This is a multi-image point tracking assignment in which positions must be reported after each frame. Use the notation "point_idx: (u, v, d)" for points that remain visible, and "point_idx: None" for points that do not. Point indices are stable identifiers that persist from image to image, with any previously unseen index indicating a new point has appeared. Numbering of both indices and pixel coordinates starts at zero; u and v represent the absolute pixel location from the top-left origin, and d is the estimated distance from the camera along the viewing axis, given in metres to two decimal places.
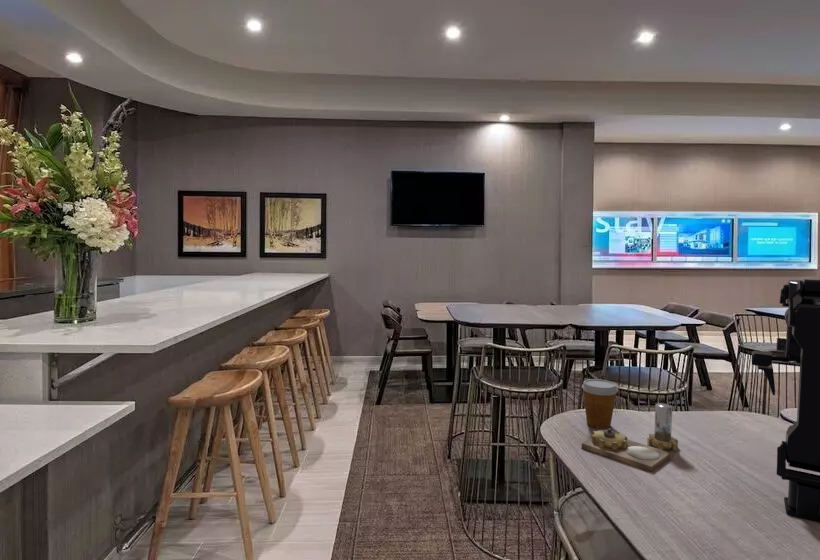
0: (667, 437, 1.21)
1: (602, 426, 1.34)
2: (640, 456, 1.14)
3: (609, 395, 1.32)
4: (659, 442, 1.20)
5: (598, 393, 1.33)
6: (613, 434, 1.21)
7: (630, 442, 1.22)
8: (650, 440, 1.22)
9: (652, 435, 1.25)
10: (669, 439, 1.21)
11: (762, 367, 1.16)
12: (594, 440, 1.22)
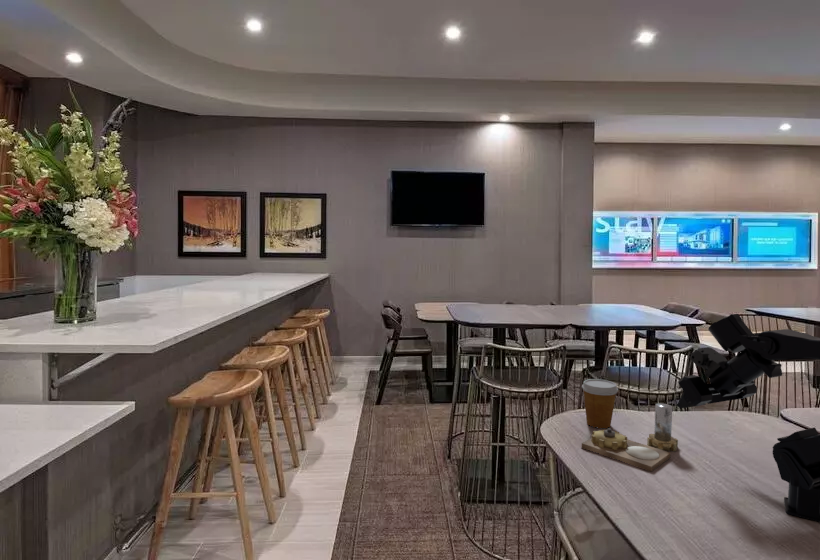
0: (667, 437, 1.21)
1: (602, 426, 1.34)
2: (640, 456, 1.14)
3: (609, 395, 1.32)
4: (659, 442, 1.20)
5: (598, 393, 1.33)
6: (613, 434, 1.21)
7: (630, 442, 1.22)
8: (650, 440, 1.22)
9: (652, 435, 1.25)
10: (669, 439, 1.21)
11: None
12: (594, 440, 1.22)
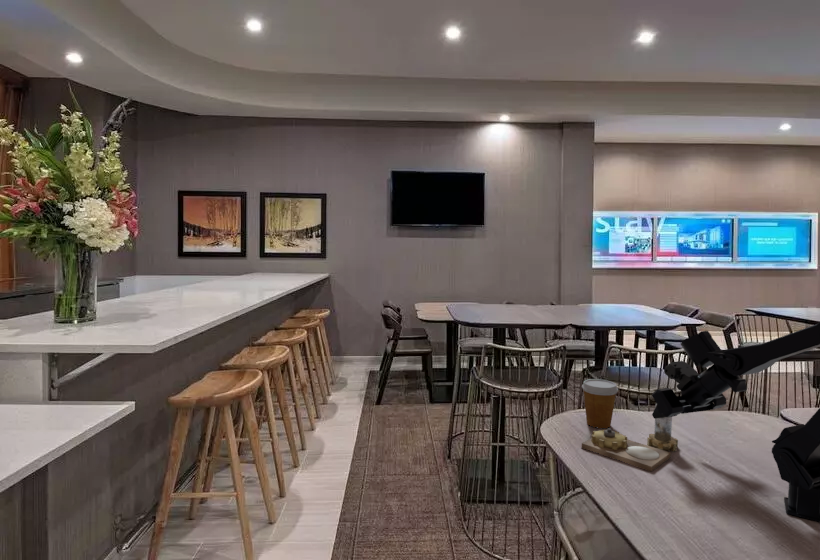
0: (667, 437, 1.21)
1: (602, 426, 1.34)
2: (640, 456, 1.14)
3: (609, 395, 1.32)
4: (659, 442, 1.20)
5: (598, 393, 1.33)
6: (613, 434, 1.21)
7: (630, 442, 1.22)
8: (650, 440, 1.22)
9: (652, 435, 1.25)
10: (669, 439, 1.21)
11: None
12: (594, 440, 1.22)
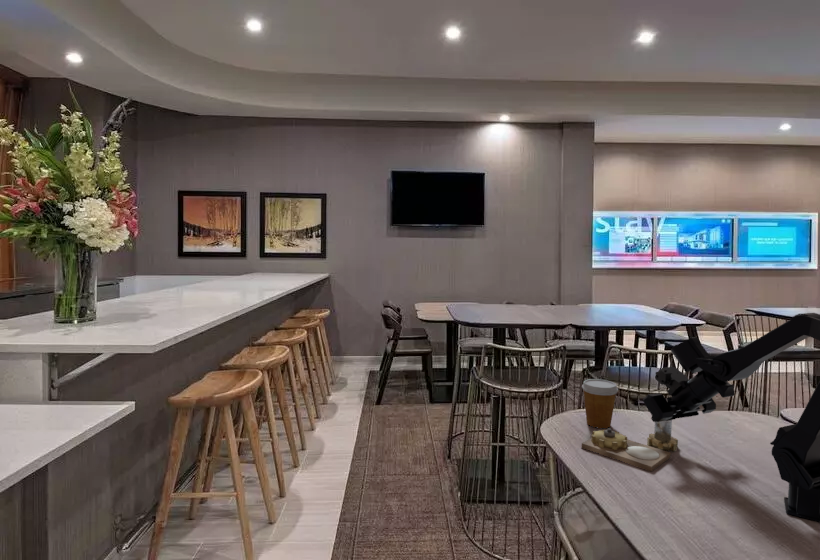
0: (667, 437, 1.21)
1: (602, 426, 1.34)
2: (640, 456, 1.14)
3: (609, 395, 1.32)
4: (659, 442, 1.20)
5: (598, 393, 1.33)
6: (613, 434, 1.21)
7: (630, 442, 1.22)
8: (650, 440, 1.22)
9: (652, 435, 1.25)
10: (669, 439, 1.21)
11: None
12: (594, 440, 1.22)
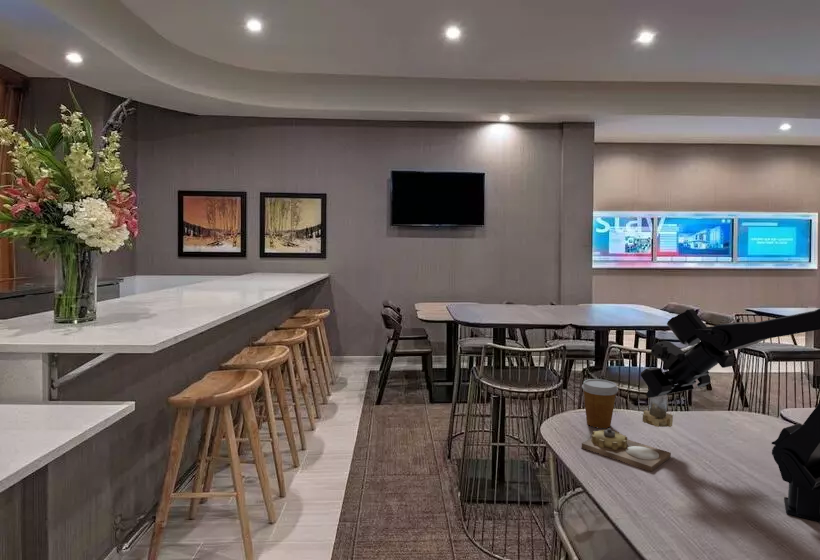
0: (662, 413, 1.19)
1: (602, 426, 1.34)
2: (640, 456, 1.14)
3: (609, 395, 1.32)
4: (655, 418, 1.18)
5: (598, 393, 1.33)
6: (613, 434, 1.21)
7: (630, 442, 1.22)
8: (646, 416, 1.20)
9: (647, 411, 1.23)
10: (665, 414, 1.19)
11: None
12: (594, 440, 1.22)
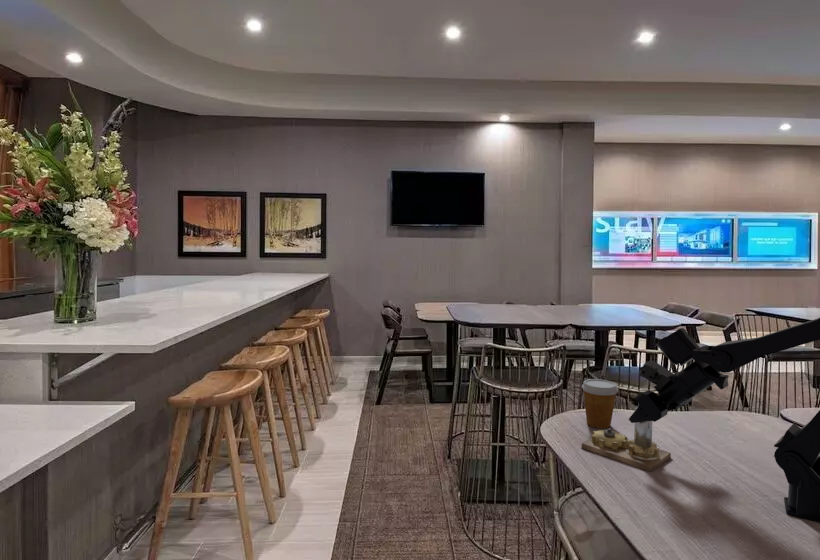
0: (649, 443, 1.14)
1: (602, 426, 1.34)
2: None
3: (609, 395, 1.32)
4: (644, 449, 1.13)
5: (598, 393, 1.33)
6: (613, 434, 1.21)
7: None
8: (633, 448, 1.14)
9: (631, 442, 1.17)
10: (651, 444, 1.14)
11: None
12: (594, 440, 1.22)
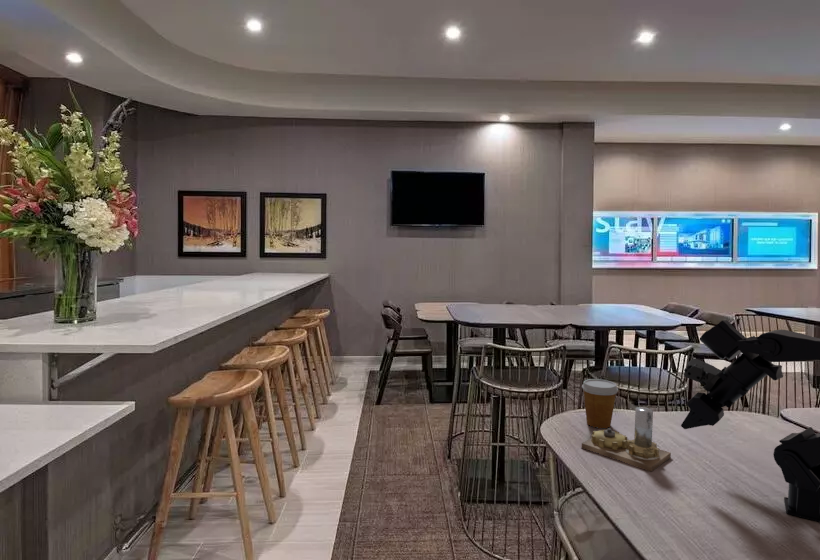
0: (649, 443, 1.14)
1: (602, 426, 1.34)
2: None
3: (609, 395, 1.32)
4: (644, 449, 1.13)
5: (598, 393, 1.33)
6: (613, 434, 1.21)
7: None
8: (633, 448, 1.14)
9: (631, 442, 1.17)
10: (651, 444, 1.14)
11: None
12: (594, 440, 1.22)
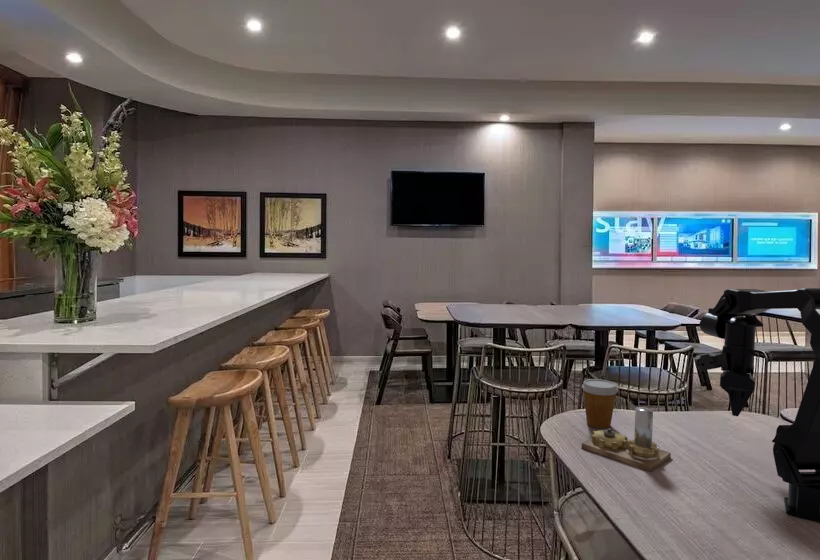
0: (649, 443, 1.14)
1: (602, 426, 1.34)
2: None
3: (609, 395, 1.32)
4: (644, 449, 1.13)
5: (598, 393, 1.33)
6: (613, 434, 1.21)
7: None
8: (633, 448, 1.14)
9: (631, 442, 1.17)
10: (651, 444, 1.14)
11: None
12: (594, 440, 1.22)
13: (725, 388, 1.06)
